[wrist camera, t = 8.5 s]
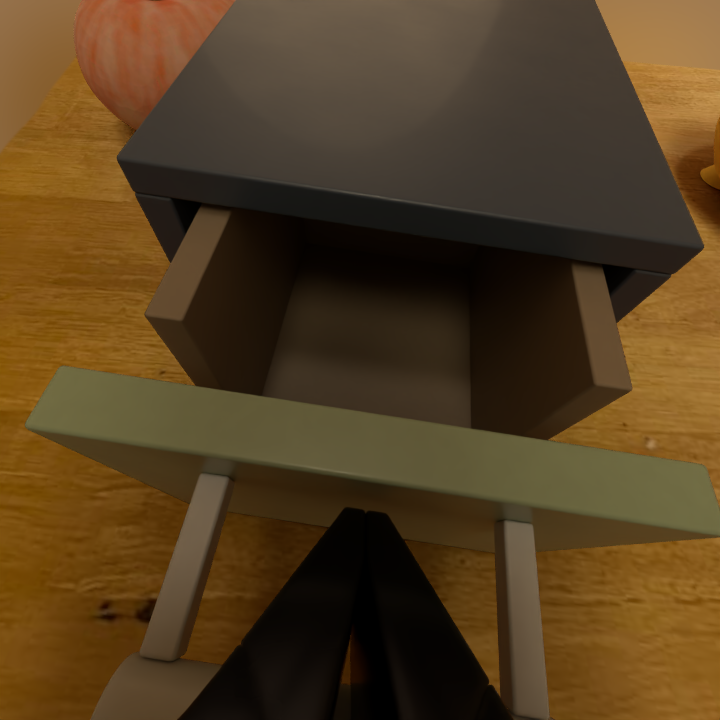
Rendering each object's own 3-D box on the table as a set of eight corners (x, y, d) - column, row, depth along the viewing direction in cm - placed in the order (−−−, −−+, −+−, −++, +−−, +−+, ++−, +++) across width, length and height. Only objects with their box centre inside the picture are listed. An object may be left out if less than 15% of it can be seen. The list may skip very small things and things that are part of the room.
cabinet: (502, 421, 17) (708, 247, 8) (230, 379, 17) (113, 156, 8) (490, 209, 25) (590, -12, 15) (298, 180, 25) (279, -60, 15)
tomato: (133, 82, 29) (71, -72, 22) (275, 88, 30) (259, -57, 23) (95, 170, 24) (-2, 4, 17) (269, 174, 25) (246, 19, 18)
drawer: (512, 708, 12) (878, 990, 4) (144, 651, 12) (-220, 816, 4) (490, 276, 20) (589, 98, 13) (281, 244, 20) (251, 47, 13)
